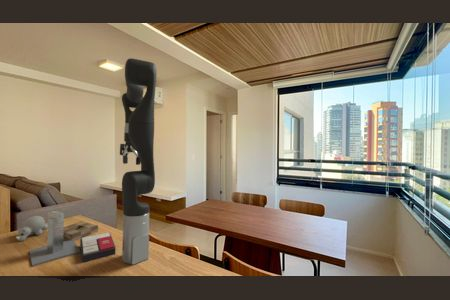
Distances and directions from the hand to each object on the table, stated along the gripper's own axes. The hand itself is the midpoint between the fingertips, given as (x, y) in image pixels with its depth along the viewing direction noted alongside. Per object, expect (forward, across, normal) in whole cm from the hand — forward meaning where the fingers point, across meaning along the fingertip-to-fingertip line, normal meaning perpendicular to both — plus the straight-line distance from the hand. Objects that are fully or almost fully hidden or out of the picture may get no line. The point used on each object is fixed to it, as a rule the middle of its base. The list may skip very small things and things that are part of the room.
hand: (131, 164), depth 107 cm
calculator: (+34, +6, -23) cm, 41 cm away
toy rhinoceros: (+33, -32, -27) cm, 53 cm away
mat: (+33, -7, -31) cm, 46 cm away
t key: (+32, -7, -30) cm, 45 cm away
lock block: (+33, -16, -16) cm, 40 cm away
